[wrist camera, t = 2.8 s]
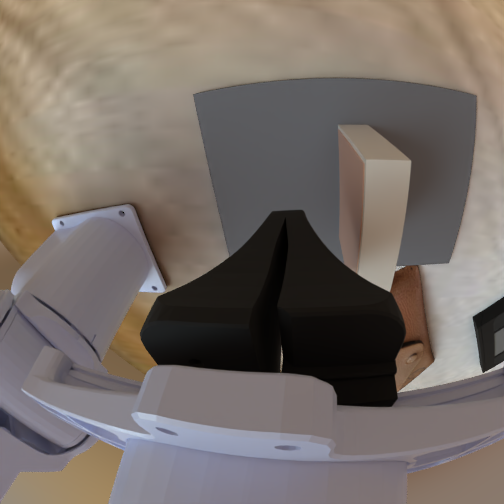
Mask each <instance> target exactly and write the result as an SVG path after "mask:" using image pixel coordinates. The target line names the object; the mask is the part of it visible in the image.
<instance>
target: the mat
mask: <svg viewBox="0 0 504 504" xmlns="http://www.w3.org/2000/svg"><path fill="white" fill-rule="evenodd" d="M193 96H194V100H195V105H196V110H197V115H198V120H199V124H200V129H201V134H202V139H203V143H204V148H205V152H206V157H207V161H208V166H209V170H210V175H211V179H212V184H213V188H214V192H215V197H216V201H217V205H218V210H219V214H220V218H221V222H222V227H223V231H224V235H225V239H226V243H227V247H228V252H229V256H231V255H233V254H234V253H235V252H236V251H237V250H239V249H240V248H241V247H242V246H243V245H244V244H245V243H246V242H247V241H248V240H249V239H250V238H251V236H252V235H253V234H254V233H255V232H256V231H257V229H258V228H259V227H260V226H261V225H262V223H263V222H264V221H265V219H266V218H267V217H268V216H269V214H270V213H271V212H272V211H283V210H303V211H304V212H305V215H306V217H307V219H308V221H309V223H310V225H311V226H312V228H313V229H314V231H315V232H316V234H317V235H318V237H319V238H320V239H321V241H322V242H323V243H324V244H325V245H326V247H327V248H328V249H329V250H330V251H331V252H332V253H333V254H334V255H335V256H336V257H337V258H338V259H339V260H340V261H341V262H342V263H344V259H343V254H342V249H341V244H340V240H339V216H340V174H339V143H338V125H369V126H370V127H371V128H372V129H374V130H375V131H376V132H378V133H379V134H380V135H381V136H383V137H384V138H385V139H386V140H388V141H389V142H390V143H391V144H392V145H394V146H395V147H396V148H397V149H398V150H400V151H401V152H402V153H403V154H404V155H405V156H406V157H408V158H409V159H410V160H411V171H410V182H409V191H408V200H407V207H406V215H405V221H404V227H403V233H402V239H401V245H400V250H399V255H398V260H397V264H396V266H408V265H426V264H442V263H449V261H450V258H451V255H452V252H453V249H454V245H455V242H456V238H457V235H458V231H459V227H460V223H461V219H462V215H463V211H464V206H465V202H466V197H467V192H468V186H469V180H470V174H471V167H472V160H473V152H474V142H475V129H476V95H472V94H468V93H464V92H460V91H455V90H451V89H446V88H441V87H435V86H429V85H423V84H416V83H408V82H399V81H389V80H377V79H357V78H316V79H296V80H282V81H272V82H263V83H254V84H247V85H240V86H234V87H228V88H222V89H217V90H211V91H207V92H202V93H197V94H193Z"/></svg>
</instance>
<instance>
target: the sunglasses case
mask: <svg viewBox="0 0 504 504" xmlns="http://www.w3.org/2000/svg"><path fill="white" fill-rule="evenodd" d="M390 292H391V293H392V294H393V296H394V298H395V300H396V302H397V304H398V307H399V309H400V311H401V313H402V316H403V319H404V323H405V328H406V336H405V340H404V342H403V345H402V347H401V349H400V351H399V353H398V355H397V357H396V359H395V360H396V366H397V373H396V375H395V381H396V388H397V392H398V391H399V390H401V389H402V388H403V387H405V386H406V385H407V384H408V383H410V382H411V381H412V380H413V379H414V378H416V377H417V376H418V375H419V374H421V373H422V372H423V371H424V370H425V369H426V368H427V367H429V366H430V365H431V364H432V363H433V362H434V357H433V354H432V351H431V347H430V341H429V335H428V329H427V323H426V316H425V311H424V303H423V295H422V286H421V279H420V274H419V269H418V266H417V265H408V266H405V267H403V268H402V269H400V270H398V271H396V272H395V273H394V278H393V282H392V286H391V290H390Z"/></svg>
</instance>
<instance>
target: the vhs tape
mask: <svg viewBox="0 0 504 504" xmlns="http://www.w3.org/2000/svg"><path fill="white" fill-rule="evenodd" d="M473 322H474V327H475V332H476V338H477V344H478V351H479V358H480V365H481V368H482V372H483V373H484V372H485V371H488V370H489V369H491V368H493V367H495V366H496V365H498V364H499V363H501V362H503V361H504V297H503V298H501V299H500V300H498V301H497V302H495V303H494V304H492V305H491V306H489V307H488V308H486V309H485V310H483V311H482V312H480V313H478V314H477V315H475V316H473Z"/></svg>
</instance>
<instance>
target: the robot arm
mask: <svg viewBox="0 0 504 504" xmlns="http://www.w3.org/2000/svg"><path fill="white" fill-rule="evenodd" d="M122 211H123V212H124V213H125V214H123V213H122ZM52 224H53V227H54V229H55V232H54V233H53V234H52V235H51V236H50V237H49V238H48V239H47V240H46V241H45V242H44V243H43V244H42V245H41V246H40V247H39V248H38V249H37V250H36V251H35V252H34V253H33V254H32V255H31V256H30V258H29V259H28V260H27V261H26V262H25V263H24V264H23V265H22V266H21V268H20V269H19V270H18V272H17V273H16V275H15V277H14V280H13V283H12V288H11V291H10V290H8V289H6V290H0V503H1V501H2V499H3V498H4V496H5V494H6V493H7V491H8V490H9V488H10V486H11V485H12V483H13V482H14V480H15V478H16V477H17V476H18V474H19V473H20V472H54V471H62V470H63V469H64V468H65V466H66V465H67V464H68V462H69V461H70V460H71V459H72V458H73V457H75V456H76V455H78V454H81V453H83V452H85V451H87V450H88V449H89V448H91V447H92V446H93V445H94V444H95V443H96V442H97V441H98V440H102V441H104V442H106V443H108V444H110V445H113V446H115V447H117V448H120V449H122V450H124V454H123V457H122V460H121V463H120V466H119V469H118V472H117V476H116V479H115V482H114V486H113V489H112V492H111V496H110V499H109V503H108V504H407V474H408V473H412V472H416V471H419V470H423V469H426V468H430V467H433V466H436V465H440V464H442V463H446V462H448V461H451V460H454V459H457V458H460V457H462V456H465V455H467V454H470V453H472V452H475V451H477V450H479V449H482V448H484V447H486V446H488V445H490V444H493V443H495V442H497V441H499V440H501V439H503V438H504V367H503V368H501V369H498V370H495V371H492V372H489V373H485V374H482V375H479V376H475V377H472V378H468V379H464V380H460V381H456V382H452V383H448V384H443V385H439V386H434V387H429V388H424V389H418V390H412V391H406V392H400V393H397V388H396V381H395V375H396V373H397V366H396V360H395V359H396V357H397V355H398V353H399V351H400V349H401V347H402V345H403V342H404V340H405V336H406V328H405V323H404V319H403V316H402V313H401V311H400V309H399V307H398V304H397V302H396V300H395V298H394V296H393V294H392V293H391V292H389V291H387V290H385V289H383V288H381V287H379V286H377V285H375V284H373V283H371V282H369V281H368V280H366V279H365V278H363V277H361V276H360V275H358V274H357V273H355V272H354V271H353V270H351V269H350V268H349V267H347V266H346V265H345V264H344V263H342V262H341V261H340V260H339V259H338V258H337V257H336V256H335V255H334V254H333V253H332V252H331V251H330V250H329V249H328V248H327V247H326V245H325V244H324V243H323V242H322V241H321V239H320V238H319V237H318V235H317V234H316V232H315V231H314V229H313V228H312V226H311V225H310V223H309V221H308V219H307V217H306V215H305V212H304V211H303V210H283V211H272V212H271V213H270V214H269V216H268V217H267V218H266V219H265V221H264V222H263V223H262V225H261V226H260V227H259V228H258V229H257V231H256V232H255V233H254V234H253V235H252V236H251V238H250V239H249V240H248V241H247V242H246V243H245V244H244V245H243V246H242V247H241V248H240V249H239V250H237V251H236V252H235V253H234V254H233V255H231V256H230V257H229V258H228V259H227V260H225V261H224V262H222V263H221V264H219V265H218V266H216V267H215V268H214V269H212V270H211V271H209V272H208V273H206V274H204V275H202V276H201V277H199V278H197V279H195V280H193V281H192V282H190V283H188V284H186V285H184V286H182V287H179V288H177V289H175V290H172V291H170V292H167V293H165V294H163V295H160V296H158V297H157V299H156V301H155V302H154V304H153V306H152V308H151V310H150V312H149V314H148V316H147V318H146V321H145V323H144V325H143V327H142V329H141V332H140V336H141V341H142V343H143V344H144V346H145V348H146V350H147V351H148V352H149V354H150V355H151V356H152V358H153V359H154V360H155V362H156V363H157V364H158V365H157V366H154V367H153V368H151V369H150V370H149V371H148V372H147V373H146V376H145V378H144V381H143V382H139V381H134V380H130V379H126V378H122V377H118V376H114V375H111V374H107V373H108V370H107V369H106V368H104V367H103V366H102V364H101V362H102V360H103V358H104V356H105V354H106V352H107V350H108V348H109V346H110V344H111V342H112V340H113V338H114V336H115V334H116V332H117V331H118V329H119V327H120V325H121V323H122V321H123V319H124V317H125V316H126V314H127V312H128V310H129V308H130V306H131V305H132V303H133V301H134V299H135V297H136V296H137V294H138V292H165V290H166V288H167V286H166V284H165V281H164V279H163V277H162V275H161V272H160V270H159V268H158V266H157V263H156V261H155V259H154V256H153V254H152V251H151V249H150V247H149V244H148V242H147V239H146V237H145V234H144V232H143V229H142V226H141V224H140V221H139V219H138V216H137V213H136V211H135V209H134V207H133V206H132V205H130V204H126V205H120V206H114V207H108V208H102V209H97V210H91V211H86V212H81V213H76V214H71V215H66V216H61V217H56V218H54V219H53V220H52ZM281 345H282V352H283V365H282V373H280V362H281Z"/></svg>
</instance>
